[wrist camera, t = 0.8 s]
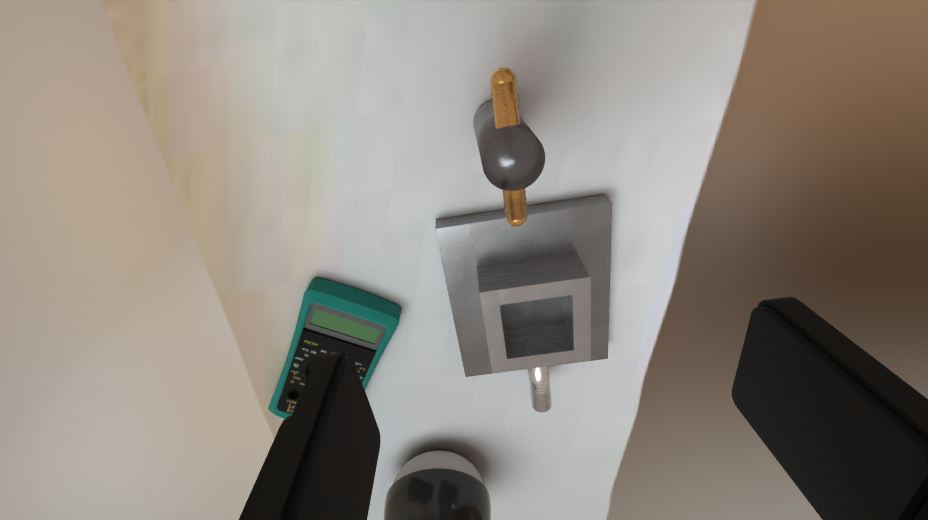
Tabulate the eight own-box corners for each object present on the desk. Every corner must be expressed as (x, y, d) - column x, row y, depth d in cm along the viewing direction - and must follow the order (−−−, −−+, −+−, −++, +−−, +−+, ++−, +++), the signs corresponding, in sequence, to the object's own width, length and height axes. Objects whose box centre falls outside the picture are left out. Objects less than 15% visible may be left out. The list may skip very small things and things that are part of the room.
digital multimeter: (275, 395, 38) (262, 421, 35) (315, 270, 31) (303, 291, 29) (351, 415, 40) (344, 442, 37) (404, 300, 33) (400, 323, 31)
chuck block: (436, 219, 29) (432, 252, 25) (604, 194, 28) (631, 223, 24) (469, 383, 37) (471, 430, 33) (601, 366, 36) (621, 411, 32)
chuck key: (465, 62, 24) (470, 75, 16) (511, 54, 24) (539, 63, 16) (481, 181, 28) (492, 239, 20) (522, 175, 28) (549, 231, 20)
